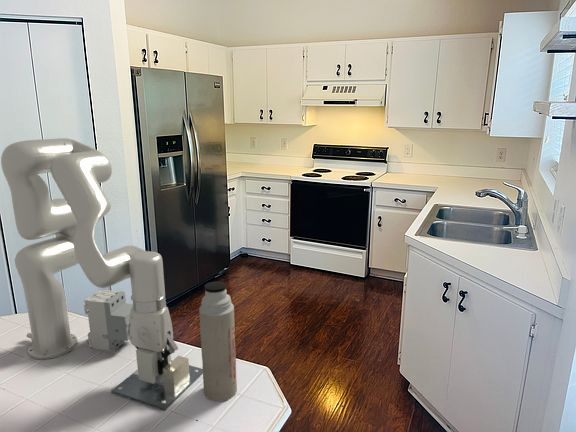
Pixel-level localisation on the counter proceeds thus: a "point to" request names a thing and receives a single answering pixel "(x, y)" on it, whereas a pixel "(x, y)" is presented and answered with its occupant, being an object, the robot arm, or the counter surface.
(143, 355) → the block
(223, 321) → the thermos bottle
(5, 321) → the counter surface
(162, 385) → the mounting plate
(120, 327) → the circuit breaker
